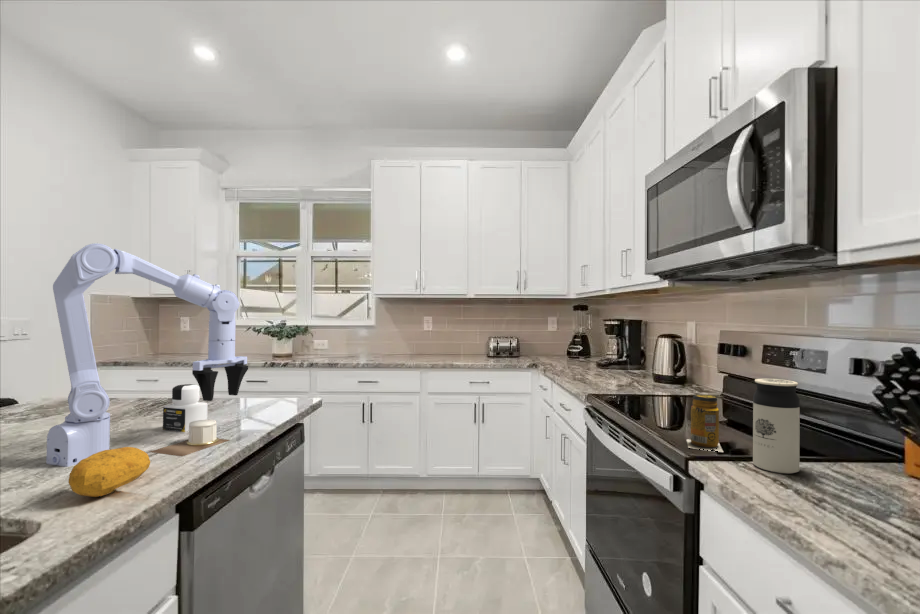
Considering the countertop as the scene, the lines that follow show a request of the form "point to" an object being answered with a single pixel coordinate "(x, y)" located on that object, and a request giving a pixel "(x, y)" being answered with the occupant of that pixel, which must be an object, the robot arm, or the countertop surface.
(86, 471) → the potato
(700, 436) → the condiment
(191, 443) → the knob
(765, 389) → the travel mug
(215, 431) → the cap
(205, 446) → the board
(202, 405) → the medicine bottle
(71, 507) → the countertop surface
